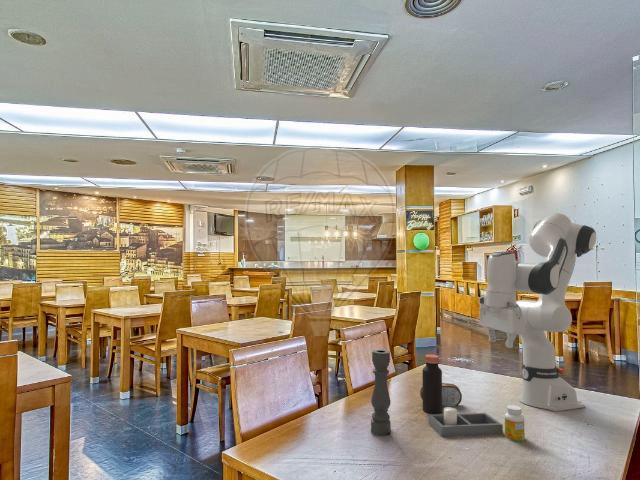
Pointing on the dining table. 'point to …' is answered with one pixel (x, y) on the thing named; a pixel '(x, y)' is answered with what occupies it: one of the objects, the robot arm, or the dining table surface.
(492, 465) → the dining table surface
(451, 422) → the shaker
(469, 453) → the dining table surface
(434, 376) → the vinegar
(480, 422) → the caddy
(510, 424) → the supplement bottle
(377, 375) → the candle holder
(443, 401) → the tin
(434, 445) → the dining table surface
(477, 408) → the dining table surface
